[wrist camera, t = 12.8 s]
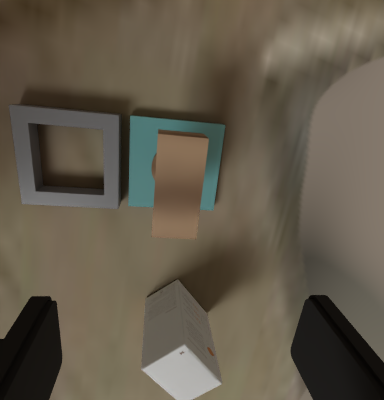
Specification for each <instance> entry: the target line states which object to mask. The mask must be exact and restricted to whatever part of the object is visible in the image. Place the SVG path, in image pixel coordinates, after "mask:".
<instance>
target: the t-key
mask: <svg viewBox="0 0 384 400" xmlns="http://www.w3.org/2000/svg"><path fill="white" fill-rule="evenodd" d="M208 143H209V138H208V137H207V136H206V135H204V134H202V133H192V132H182V131H171V130H161V129H158V140H157V153H156V154H155V156H154V158H153V161H152V167H151V171H152V176H153V178H154V180H155V189H154V206H153V222H152V237H158V238H181V239H196V236H197V229H198V221H199V213H200V205H201V197H202V190H203V182H204V174H205V166H206V158H207V150H208Z"/></svg>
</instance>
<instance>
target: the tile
mask: <svg viewBox="0 0 384 400" xmlns="http://www.w3.org/2000/svg"><path fill="white" fill-rule="evenodd" d="M158 129H161V130H171V131H182V132H192V133H202V134H204V135H206V136H207V137H208V138H209V143H208V150H207V158H206V166H205V174H204V182H203V190H202V197H201V205H200V210H213V209H214V202H215V195H216V188H217V181H218V174H219V167H220V160H221V153H222V146H223V139H224V132H225V124H218V123H208V122H198V121H188V120H177V119H167V118H157V117H147V116H137V115H131V116H130V156H129V206H140V207H153V206H154V189H155V180H154V178H153V176H152V171H151V167H152V161H153V158H154V156H155V154H156V153H157V140H158Z"/></svg>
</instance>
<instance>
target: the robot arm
mask: <svg viewBox="0 0 384 400" xmlns="http://www.w3.org/2000/svg"><path fill="white" fill-rule="evenodd" d="M291 356H292V359H293V361H294V363H295V365H296V367H297V369H298V371H299V373H300V375H301V377H302V379H303V381H304V383H305V385H306V386H307V388H308V390H309V392H310V394H311V396H312V398H313V400H384V362H383V361H382V360H381V359H380V358H379V357H378V356H377V354H376V353H375V352H374V351H373V349H372V348H371V347H370V346H369V345H368V343H367V342H366V341H365V340H364V339H363V338H362V336H361V335H360V334H359V333H358V332H357V331H356V329H355V328H354V327H353V326H352V325H351V323H350V322H349V321H348V320H347V319H346V318H345V316H344V315H343V314H342V313H341V312H340V310H339V309H338V308H337V307H336V306H335V304H334V303H333V302H332V301H331V300H330V299H329V297H328V296H326V295H311V296H309V298H308V299H306V300H305V303H304V306H303V309H302V313H301V316H300V319H299V323H298V326H297V329H296V333H295V336H294V339H293V342H292V346H291ZM61 364H62V349H61V339H60V330H59V320H58V311H57V302H56V301H52V300H51V297H50V296H32V297H31V298H30V299H29V300H28V302H27V304H26V305H25V307H24V308H23V310H22V311H21V313H20V315H19V316H18V318H17V319H16V321H15V322H14V324H13V326H12V327H11V329H10V330H9V332H8V333H7V335H6V337H5V338H4V339H0V400H49V398H50V395H51V393H52V390H53V387H54V384H55V381H56V379H57V376H58V373H59V370H60V367H61Z"/></svg>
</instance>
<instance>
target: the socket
mask: <svg viewBox="0 0 384 400" xmlns="http://www.w3.org/2000/svg"><path fill="white" fill-rule="evenodd" d="M9 111H10V118H11V126H12V133H13V141H14V148H15V156H16V163H17V171H18V178H19V186H20V193H21V201H22V204H33V205H53V206H72V207H92V208H111V209H118V208H119V206H120V203H121V128H122V114H116V113H106V112H96V111H85V110H75V109H65V108H55V107H45V106H34V105H24V104H12V105H9ZM37 124H46V125H58V126H69V127H80V128H91V129H102V130H103V147H104V189H92V188H76V187H59V186H43V178H42V168H41V158H40V148H39V138H38V128H37Z"/></svg>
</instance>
